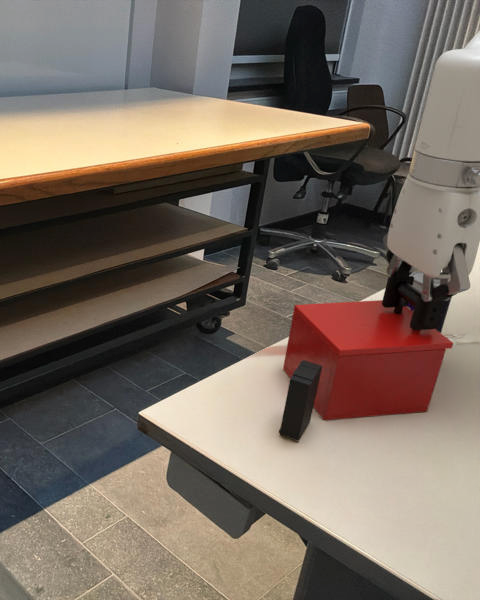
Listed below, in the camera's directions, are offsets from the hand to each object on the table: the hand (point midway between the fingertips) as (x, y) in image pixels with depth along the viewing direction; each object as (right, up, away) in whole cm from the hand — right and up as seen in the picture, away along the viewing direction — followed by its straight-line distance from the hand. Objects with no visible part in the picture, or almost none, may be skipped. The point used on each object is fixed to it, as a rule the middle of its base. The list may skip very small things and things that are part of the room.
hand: (408, 315), depth 82 cm
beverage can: (+6, -6, +11) cm, 14 cm away
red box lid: (-5, -2, 0) cm, 5 cm away
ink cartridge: (-15, -13, -4) cm, 20 cm away
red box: (-5, -9, +4) cm, 11 cm away
